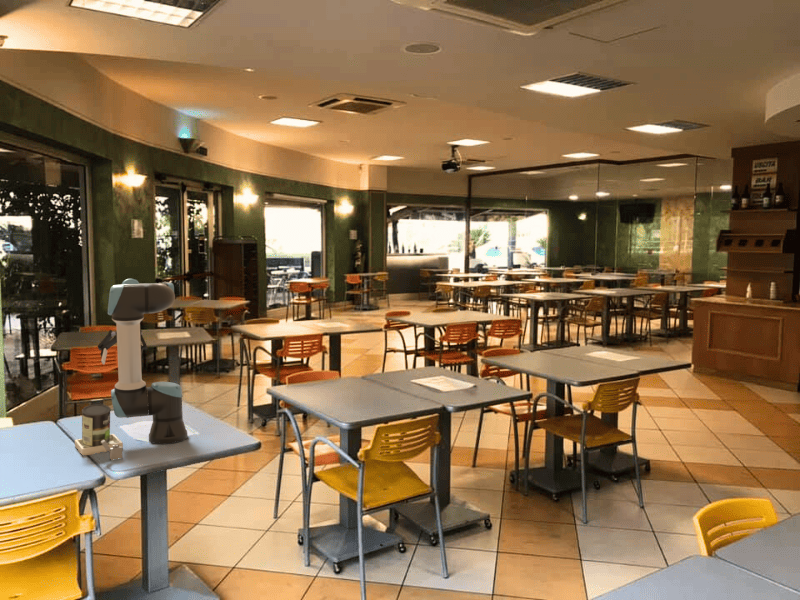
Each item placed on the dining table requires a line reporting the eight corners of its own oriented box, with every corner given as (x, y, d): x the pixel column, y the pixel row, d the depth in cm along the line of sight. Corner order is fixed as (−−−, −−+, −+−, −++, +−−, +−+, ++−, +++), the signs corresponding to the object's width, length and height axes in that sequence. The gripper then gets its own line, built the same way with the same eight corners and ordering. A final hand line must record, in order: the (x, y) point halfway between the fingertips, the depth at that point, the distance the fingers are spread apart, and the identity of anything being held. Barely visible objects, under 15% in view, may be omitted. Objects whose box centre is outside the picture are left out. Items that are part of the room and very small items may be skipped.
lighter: (121, 457, 253) (120, 436, 252) (122, 458, 252) (121, 437, 251) (101, 461, 249) (100, 440, 248) (102, 462, 247) (101, 441, 247)
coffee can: (113, 437, 272) (114, 405, 268) (104, 449, 262) (105, 416, 258) (87, 435, 271) (87, 402, 267) (77, 447, 261) (77, 414, 257)
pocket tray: (122, 449, 263) (122, 442, 263) (82, 455, 254) (82, 449, 254) (113, 440, 275) (113, 433, 275) (74, 446, 266) (74, 439, 266)
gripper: (158, 327, 304) (151, 366, 291) (100, 328, 301) (91, 367, 287) (155, 317, 298) (148, 356, 285) (96, 318, 295) (86, 357, 281)
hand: (119, 362), depth 286 cm, fingers open, 13 cm apart
